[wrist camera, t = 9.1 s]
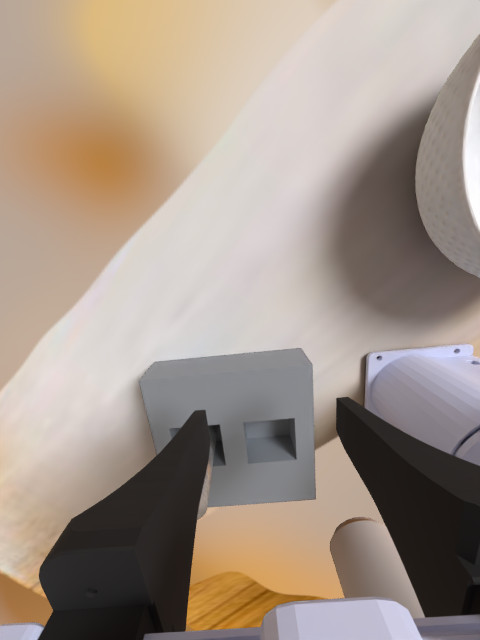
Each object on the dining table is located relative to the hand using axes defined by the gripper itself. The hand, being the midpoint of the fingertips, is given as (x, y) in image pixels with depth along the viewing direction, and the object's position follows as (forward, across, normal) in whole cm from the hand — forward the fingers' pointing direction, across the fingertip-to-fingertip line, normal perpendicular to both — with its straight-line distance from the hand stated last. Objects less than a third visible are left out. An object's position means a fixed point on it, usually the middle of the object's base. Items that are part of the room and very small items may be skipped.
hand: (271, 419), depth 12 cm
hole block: (+9, +3, +7) cm, 12 cm away
